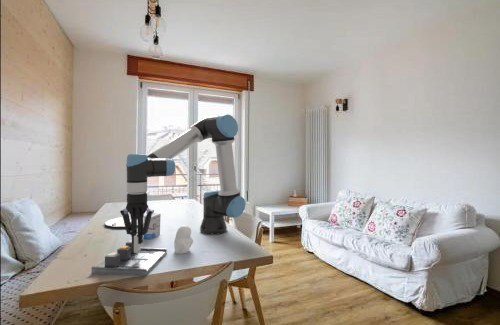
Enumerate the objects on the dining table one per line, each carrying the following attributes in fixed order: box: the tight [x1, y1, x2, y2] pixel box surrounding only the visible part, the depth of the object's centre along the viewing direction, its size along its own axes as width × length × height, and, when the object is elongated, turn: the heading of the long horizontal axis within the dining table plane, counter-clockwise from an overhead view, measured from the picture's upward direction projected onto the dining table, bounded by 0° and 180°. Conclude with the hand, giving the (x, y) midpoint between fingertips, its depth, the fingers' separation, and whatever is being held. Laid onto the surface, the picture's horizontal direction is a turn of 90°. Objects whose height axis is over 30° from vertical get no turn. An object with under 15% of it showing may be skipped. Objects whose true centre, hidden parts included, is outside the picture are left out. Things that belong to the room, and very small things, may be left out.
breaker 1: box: [104, 251, 120, 267], centre depth 98 cm, size 4×3×5 cm
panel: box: [91, 247, 168, 277], centre depth 106 cm, size 20×21×2 cm
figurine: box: [173, 224, 194, 255], centre depth 119 cm, size 7×8×12 cm
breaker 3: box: [125, 239, 134, 253], centre depth 113 cm, size 4×3×5 cm
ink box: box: [143, 212, 162, 240], centre depth 139 cm, size 9×5×12 cm, turn 168°
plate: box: [104, 215, 144, 229], centre depth 164 cm, size 25×25×2 cm
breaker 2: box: [116, 245, 131, 260], centre depth 106 cm, size 4×3×5 cm
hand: (137, 251), depth 106 cm, fingers closed
